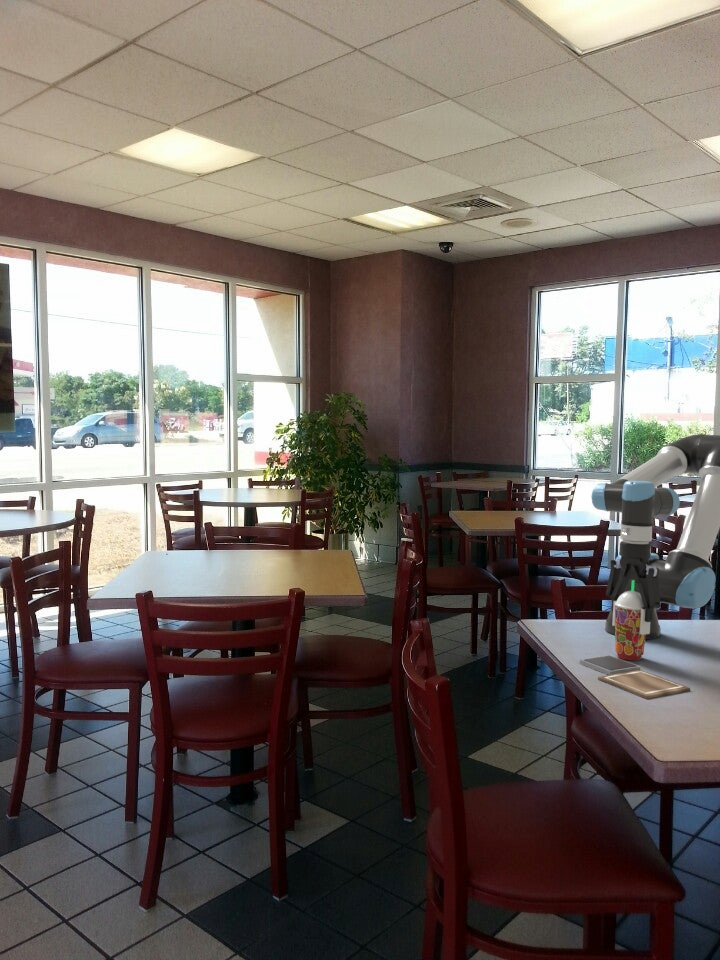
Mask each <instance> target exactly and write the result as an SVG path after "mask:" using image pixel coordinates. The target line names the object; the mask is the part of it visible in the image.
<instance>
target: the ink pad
mask: <svg viewBox="0 0 720 960" xmlns="http://www.w3.org/2000/svg"><path fill="white" fill-rule="evenodd" d="M579 664H580V665H582V666H584V667H587V668H590V669H591V670H592V669H593V670H595V671H598V672H600V673H602V674H605V675H613V674H619V673H625V672H631V671H637V670H641V666H640V665H637V664H635V663H632V662H629V661H628V660H626V661H625V659H621V658H619V657H618V658H617V657H615V656H613V655H608V654H607V655H602V656H596V657H589V658H582V659H579Z"/></svg>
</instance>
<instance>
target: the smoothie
mask: <svg viewBox="0 0 720 960" xmlns="http://www.w3.org/2000/svg"><path fill="white" fill-rule="evenodd" d="M643 607H644V605H643V602H642V598H641V595H640V593H638V592H636V591H634V580H632V585H631V591H626V592H624V593H622V594H621V595H620V596H619V597H618V599H617V601H616V602H615V635H614V642H615V644H614V645H615V648H614V649H615V650H614V652H616V653H617V654H616V655H617V657H618V659H621V660H624V661H625V660H626V661H631V662H632V661H635V662H636V661H640V660H641V659H642V656H643V655H644V652H645V644H646V643H645V642H646V639H645V637H646V634H644V635H641V634H640V620H641V608H643Z"/></svg>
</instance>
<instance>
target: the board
mask: <svg viewBox="0 0 720 960" xmlns="http://www.w3.org/2000/svg"><path fill="white" fill-rule="evenodd" d="M597 680H598V681H600V682H603V683H606V684H608V685H610V686H612V687H613V686H614V687H616V688H618V689H620V690H623V691H626V692H628V693H630V694H633V695H635V696H638V697H641V698H643V699H646V700H647V699H652V698H654V699H655V698H658V697H663V696H669V695H673V694H677V693H679V694H680V693H684V692H688V691H691V687H689V686H686V685H684V684H681V683H678V682H676V681H673V680H670V679H668V678H665V677H662V676H660V675H657V674H656V675H655V674H653V673H650V672H648V671H646V670H642V669H640V670H637V671H631V672H625V673H619V674H613V675H608V674H606V675H603V676H598V677H597Z"/></svg>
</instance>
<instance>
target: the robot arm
mask: <svg viewBox="0 0 720 960" xmlns="http://www.w3.org/2000/svg"><path fill="white" fill-rule="evenodd" d="M692 473H693V474H698V475H699V477H700V478H701V481H700V484H699V487H698V489H697V492H696V495H695V498H694V500H693V503H692V506H691V508H690V511H689V514H688V516H687V519H686V521H685V524H684V527H683V529H682V533H681V536H680V539H679V541H678V544H677V547H676V549H673V550H671V551H668V555H667V558H666V559H665V560H662V559H661V560H660V556H659V555H658V554H657V553H655V552H652V545H651V543H650V542H652V538H653V518H659V517H663V518H666V517H669V516H672V515H673V514H676V512H678V510H679V507H680V503H681V502H680V496H679V494H678V493H677V492H676V490H674V489H673V488H669V487H662V486H661V487H659V486H660V485H662V484H663V483H664V482H667V480H669V479H671V478H672V477H674V478H675V477H679V476H681V475H683V474H692ZM590 497H591V502H592V503H591V504H592V505H593V507H594V508H595V509H596V510H599V511H604V512H611V513H621V521H620V539H621V541H620V542H619V555H617V556H616V558H615V559H612V560H610V572H609V576H608V581H607V584H606V585H607V586H606V590H605V596H606V597H609V598H610V600H611V607H610V609H609V613H608V615H607V619H606V620H605V627H604V630H605V632H607V633H609V634H612V635H614V636H615V602H616V601H617V599H618V597H619V596H620V595H621V594H622V593H624V592H626V591H631V585H632V580H634V591H636V592H638V593H640V595H641V598H642V602H643V605H644V607H643V608H641V620H640V634H641V635H644V634H646V637H645V640H651V639H657V638H659V637H660V636H661V629H662V628H661V626H660V624H659V622H660V621H659V619H658V614H657V610H656V609H657V608H661V606H662V603H663V604H667V605H671V606H677V607H680V608H683V609H684V608H685V609H694V610H695V609H700V608H701V607H704V606H705V605H707V604H708V602H709V601H710V599H712V596H713V594H714V592H715V588H716V584H715V583H716V581H717V580H716V574H715V572H714V570H713V566H712V563H711V562H710V560H709V559H710V557H711V553H712V550H713V547H714V544H715V542H716V539H717V536H718V533H719V530H720V434H702V433H701V434H700V433H698V434H692V435H688V436H684V437H682V438H679V439H677V440H674V441H672V442H669V443H668V444H667V445H665V446H664V447H662V448H660V449H659V450H658V452H657V453H656V455H655V456H654V457H652V458H651V459H649V460H647V461H646V462H645V463H643V464H641V465H639V466H638V467H636V468H635V469H633V470H631V471H629V472H628V473H626V474H625V475H624V476H622V477H620V478H619V479H617V480H615V481H614V482H612V483H607V482H604V483H597V484H596V485H595V486H594V487H593V488H592V491H591V496H590Z"/></svg>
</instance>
